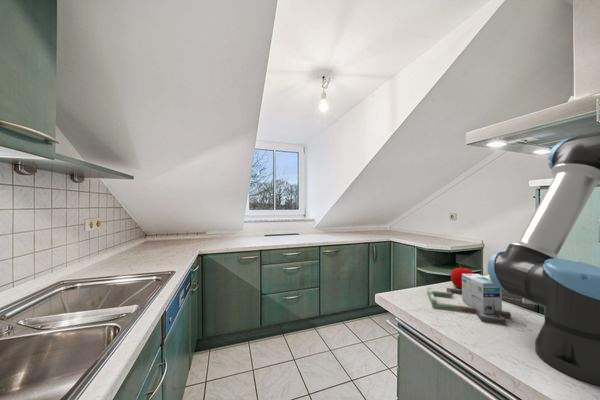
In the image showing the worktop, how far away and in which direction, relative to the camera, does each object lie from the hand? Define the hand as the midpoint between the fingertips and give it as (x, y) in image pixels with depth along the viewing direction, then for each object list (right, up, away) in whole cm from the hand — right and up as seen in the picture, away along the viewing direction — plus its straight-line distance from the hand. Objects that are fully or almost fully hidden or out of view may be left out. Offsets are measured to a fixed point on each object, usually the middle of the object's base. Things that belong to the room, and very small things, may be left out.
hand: (512, 290), depth 82 cm
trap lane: (-13, -7, +5) cm, 16 cm away
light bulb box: (-9, -7, +3) cm, 12 cm away
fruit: (-2, -7, +22) cm, 23 cm away
